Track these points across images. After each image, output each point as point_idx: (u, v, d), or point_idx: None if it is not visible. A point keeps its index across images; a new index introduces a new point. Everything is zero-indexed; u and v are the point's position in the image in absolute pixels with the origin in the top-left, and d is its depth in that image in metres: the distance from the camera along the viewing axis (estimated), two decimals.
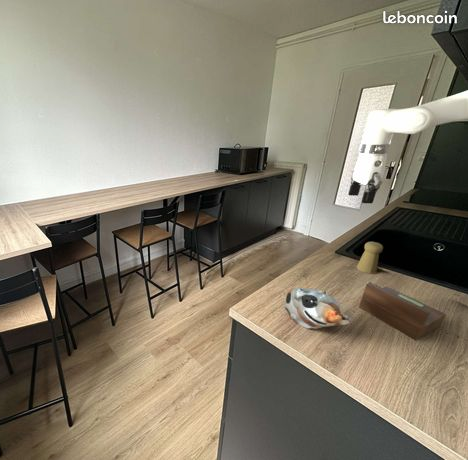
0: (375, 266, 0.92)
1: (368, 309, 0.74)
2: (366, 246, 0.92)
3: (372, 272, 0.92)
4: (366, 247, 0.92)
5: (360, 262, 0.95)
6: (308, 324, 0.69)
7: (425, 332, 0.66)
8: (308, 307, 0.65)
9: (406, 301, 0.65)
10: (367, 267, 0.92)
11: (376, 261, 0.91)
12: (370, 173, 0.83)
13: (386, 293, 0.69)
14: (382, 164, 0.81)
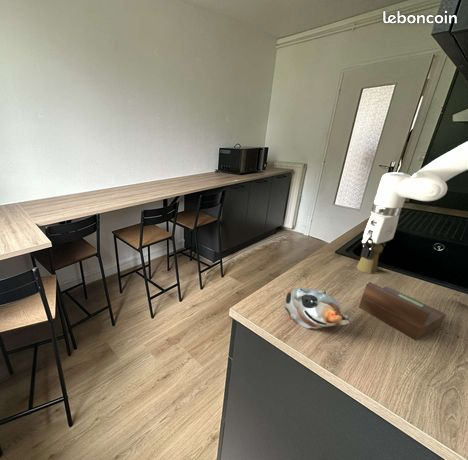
0: (375, 266, 0.92)
1: (368, 309, 0.74)
2: None
3: (372, 272, 0.92)
4: None
5: (360, 262, 0.95)
6: (308, 324, 0.69)
7: (425, 332, 0.66)
8: (308, 307, 0.65)
9: (406, 301, 0.65)
10: (367, 267, 0.92)
11: (376, 261, 0.91)
12: (366, 229, 0.88)
13: (386, 293, 0.69)
14: (377, 224, 0.85)
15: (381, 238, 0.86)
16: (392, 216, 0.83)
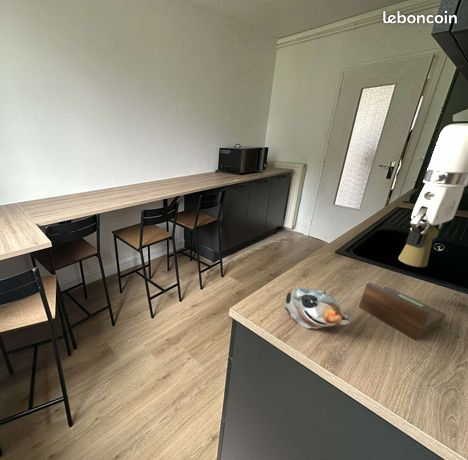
0: (426, 257, 0.68)
1: (368, 309, 0.74)
2: None
3: (422, 265, 0.68)
4: None
5: (404, 252, 0.71)
6: (308, 324, 0.69)
7: (425, 332, 0.66)
8: (308, 307, 0.65)
9: (406, 301, 0.65)
10: (415, 258, 0.68)
11: (428, 250, 0.67)
12: (417, 206, 0.64)
13: (386, 293, 0.69)
14: (435, 197, 0.61)
15: (439, 217, 0.62)
16: (458, 185, 0.59)
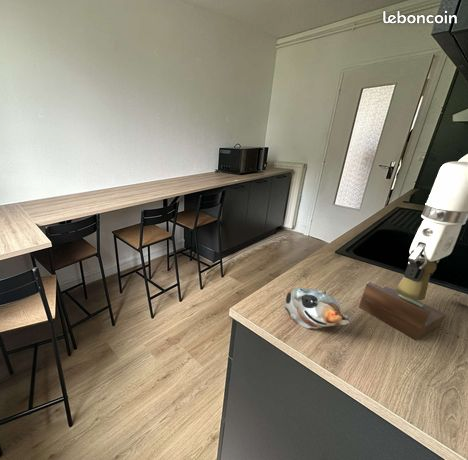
0: (424, 291, 0.67)
1: (368, 309, 0.74)
2: None
3: (420, 298, 0.68)
4: None
5: (402, 284, 0.70)
6: (308, 324, 0.69)
7: (425, 332, 0.66)
8: (308, 307, 0.65)
9: (406, 301, 0.65)
10: (413, 291, 0.68)
11: (426, 284, 0.67)
12: (415, 241, 0.64)
13: (386, 293, 0.69)
14: (434, 235, 0.60)
15: (438, 254, 0.61)
16: (456, 223, 0.58)
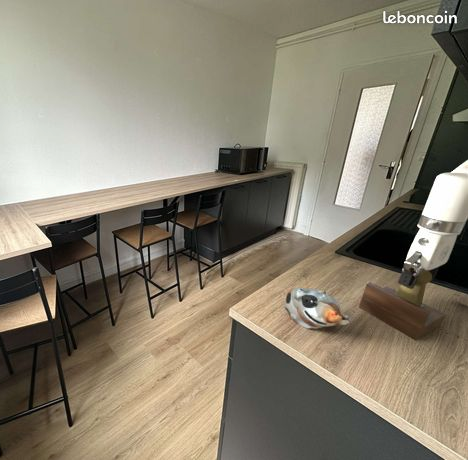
0: (420, 300, 0.69)
1: (368, 309, 0.74)
2: None
3: None
4: None
5: (399, 293, 0.71)
6: (308, 324, 0.69)
7: (425, 332, 0.66)
8: (308, 307, 0.65)
9: (406, 301, 0.65)
10: (409, 300, 0.69)
11: (422, 293, 0.68)
12: (411, 250, 0.65)
13: (386, 293, 0.69)
14: (430, 244, 0.61)
15: (434, 263, 0.62)
16: (452, 233, 0.59)
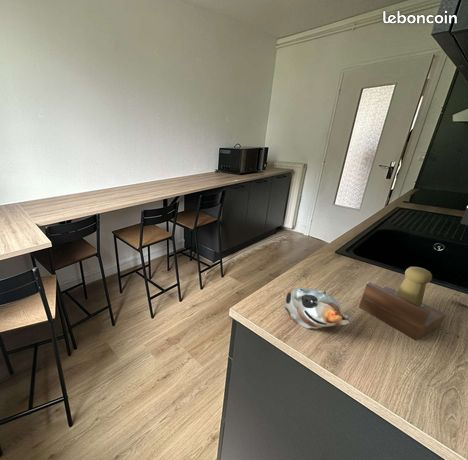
0: (420, 300, 0.69)
1: (368, 309, 0.74)
2: (408, 273, 0.68)
3: None
4: (408, 274, 0.68)
5: (399, 293, 0.71)
6: (308, 324, 0.69)
7: (425, 332, 0.66)
8: (308, 307, 0.65)
9: (406, 301, 0.65)
10: (409, 300, 0.69)
11: (422, 293, 0.68)
12: None
13: (386, 293, 0.69)
14: None
15: None
16: None
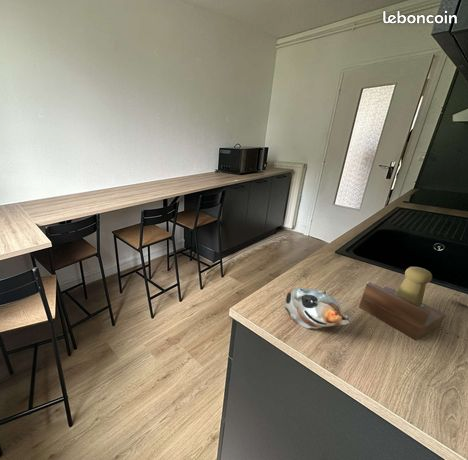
0: (420, 300, 0.69)
1: (368, 309, 0.74)
2: (408, 273, 0.68)
3: None
4: (408, 274, 0.68)
5: (399, 293, 0.71)
6: (308, 324, 0.69)
7: (425, 332, 0.66)
8: (308, 307, 0.65)
9: (406, 301, 0.65)
10: (409, 300, 0.69)
11: (422, 293, 0.68)
12: None
13: (386, 293, 0.69)
14: None
15: None
16: None
